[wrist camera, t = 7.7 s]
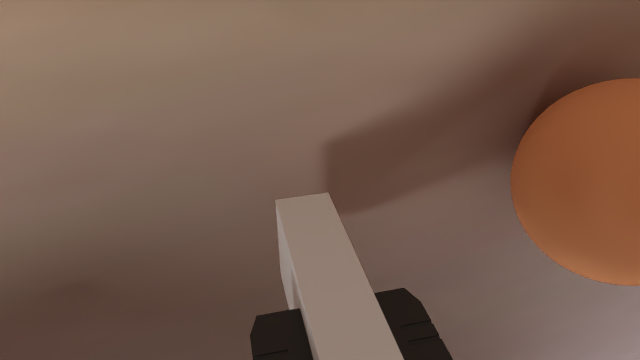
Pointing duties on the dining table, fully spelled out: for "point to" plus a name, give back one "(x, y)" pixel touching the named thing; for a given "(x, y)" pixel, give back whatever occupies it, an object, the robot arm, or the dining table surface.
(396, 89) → the dining table surface
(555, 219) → the ball
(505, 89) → the dining table surface
